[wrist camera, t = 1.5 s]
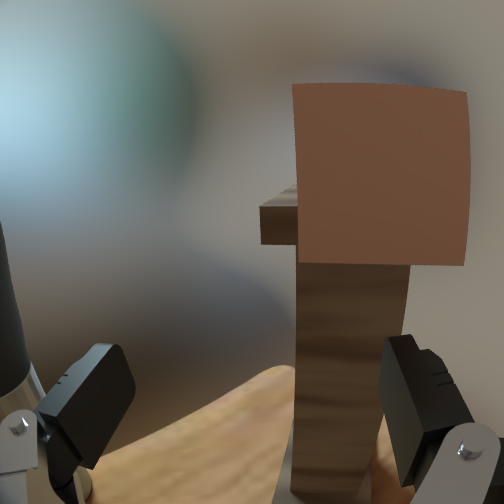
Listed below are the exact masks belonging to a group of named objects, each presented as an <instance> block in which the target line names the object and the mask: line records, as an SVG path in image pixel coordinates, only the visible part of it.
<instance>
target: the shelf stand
mask: <svg viewBox="0 0 504 504" xmlns="http://www.w3.org/2000/svg"><path fill="white" fill-rule="evenodd" d="M259 208H260V228H261V229H260V230H261V244H263V245H266V244H267V245H296V362H295V365H296V366H295V399H294V419H293V423H292V427H291V431H290V435H289V440H288V444H287V448H286V452H285V456H284V460H283V464H282V467H281V471H280V475H279V479H278V482H277V486H276V490H275V493H274V497H273V500H272V504H371V490H372V452H373V449H374V446H375V442H376V439H377V436H378V432H379V429H380V426H381V422H382V418H383V415H384V411H383V407H382V403H381V399H380V393H379V377H380V369H381V361H382V353H383V344H384V339H385V338H386V337H392V336H400V335H401V333H402V326H403V320H404V314H405V307H406V300H407V292H408V283H409V275H410V265H390V264H344V263H303V262H299V257H298V202H297V185H293V186H291V187H290V188H288V189H287V190H285V191H283V192H282V193H280V194H278V195H277V196H275V197H274V198H272V199H271V200H269V201H267V202H266V203H264V204H263V205H261V206H260V207H259Z"/></svg>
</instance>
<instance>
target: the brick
mask: <svg viewBox="0 0 504 504" xmlns="http://www.w3.org/2000/svg"><path fill="white" fill-rule="evenodd" d="M292 92H293V107H294V108H293V109H294V126H295V146H296V170H297V202H298V257H299V262H303V263H344V264H390V265H447V266H448V265H449V266H463V265H464V260H465V252H466V242H467V233H468V220H469V206H470V174H471V173H470V169H471V168H470V167H471V165H470V164H471V162H470V131H469V115H468V104H467V95H466V92H461V91H454V90H446V89H439V88H430V87H420V86H408V85H395V84H376V83H306V84H292Z"/></svg>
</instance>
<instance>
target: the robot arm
mask: <svg viewBox="0 0 504 504" xmlns="http://www.w3.org/2000/svg"><path fill="white" fill-rule="evenodd" d="M135 389H136V388H135V382H134V379H133V376H132V374H131V371H130V369H129V366H128V363H127V361H126V358H125V355H124V353H123V350H122V348H121V347H120V346H119V345H117V344H104V343H97V344H95V345H94V346H93V347H92V348H91V349H90V350H89V352H88V353H87V354H86V355H85V356H84V357H83V358H82V359H80V360H79V361H77V362H76V363H74V364H73V365H72V366H71V367H70V368H69V369H68V370H67V372H66V373H65V374H64V376H62V378H60V380H59V381H58V384H55V385H54V387H53V388H52V389H51V390H50V391H49V392H48V394H47V395H45V393H44V391H43V389H42V386H41V385H40V382H39V380H38V378H37V375H36V373H35V370H34V368H33V365H32V363H31V361H30V357H29V355H28V352H27V349H26V346H25V340H24V334H23V328H22V323H21V319H20V315H19V311H18V307H17V303H16V299H15V295H14V290H13V286H12V281H11V276H10V270H9V264H8V258H7V252H6V246H5V240H4V235H3V231H2V226H1V223H0V504H85V501H86V500H87V498H88V497H89V495H90V492H91V488H92V486H91V478H90V475H89V473H88V471H87V470H86V468H87V469H90V470H93V469H94V467H95V465H96V463H97V462H98V460H99V458H100V456H101V454H102V453H103V451H104V449H105V447H106V446H107V444H108V442H109V440H110V439H111V437H112V435H113V433H114V432H115V430H116V428H117V427H118V425H119V423H120V421H121V420H122V418H123V416H124V414H125V413H126V411H127V409H128V407H129V406H130V404H131V402H132V401H133V399H134V396H135ZM379 393H380V399H381V403H382V407H383V411H384V415H385V419H386V423H387V427H388V431H389V435H390V439H391V443H392V448H393V452H394V456H395V461H396V465H397V470H398V475H399V480H400V485H401V487H406V486H411V485H414V488H415V493H416V494H415V496H414V497H413V499H412V501H411V502H410V504H504V438H499V437H498V436H497V435H496V433H495V432H494V431H493V430H492V429H490V428H489V427H487V426H485V425H482V424H479V423H475V422H474V420H473V418H472V416H471V414H470V412H469V409H468V408H467V405H466V404H465V402H464V400H463V398H462V396H461V394H460V392H459V390H458V388H457V386H456V384H454V382H453V379H452V377H451V375H450V374H449V373H448V370H447V368H446V366H445V364H444V362H443V361H442V359H441V358H440V357H439V356H437V355H436V354H435V353H433V352H432V351H431V350H430V349H425V350H419V348H418V346H417V344H416V342H415V340H414V338H413V336H412V335H411V334H408V335H400V336H392V337H386V338H385V339H384V344H383V353H382V361H381V369H380V377H379Z"/></svg>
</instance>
